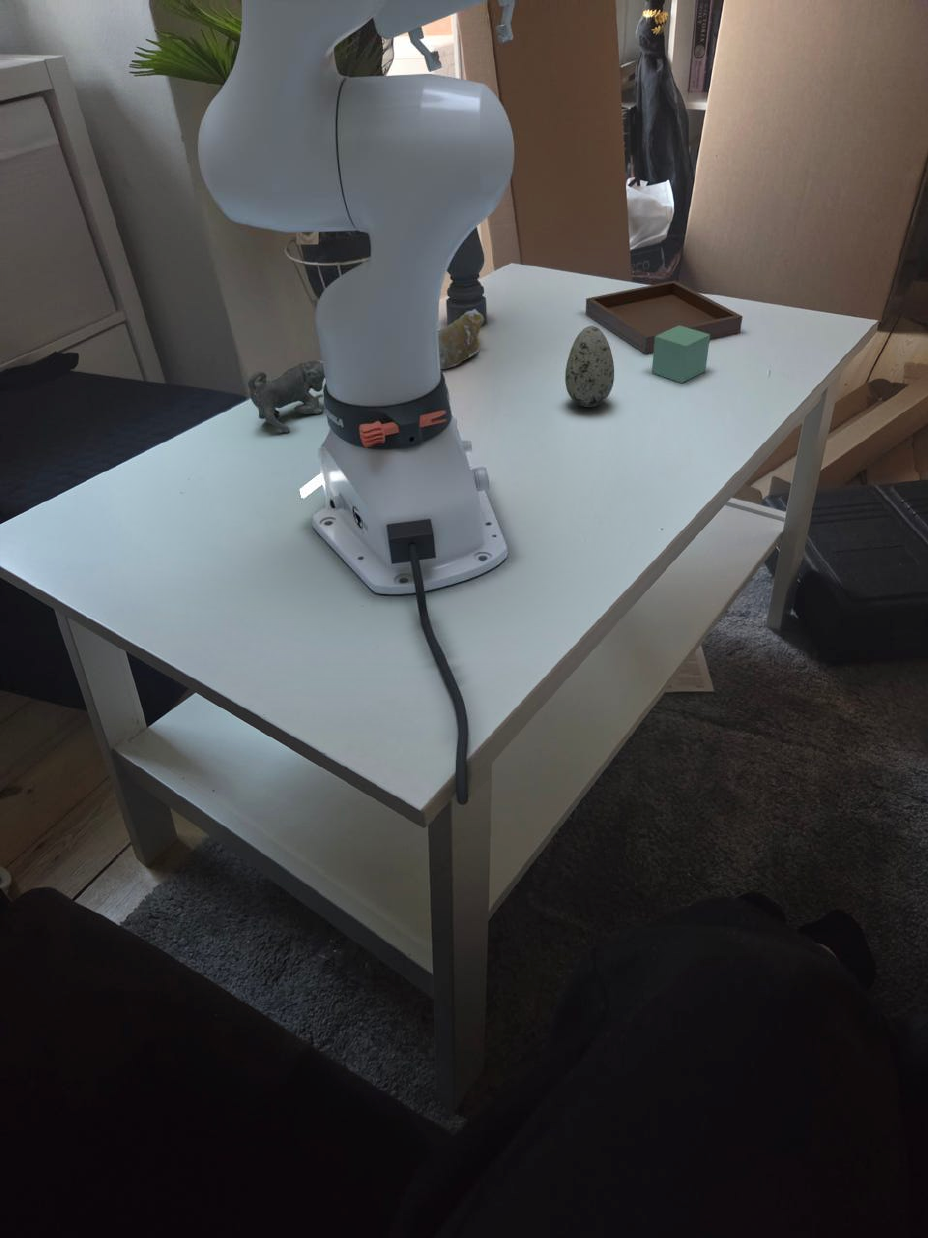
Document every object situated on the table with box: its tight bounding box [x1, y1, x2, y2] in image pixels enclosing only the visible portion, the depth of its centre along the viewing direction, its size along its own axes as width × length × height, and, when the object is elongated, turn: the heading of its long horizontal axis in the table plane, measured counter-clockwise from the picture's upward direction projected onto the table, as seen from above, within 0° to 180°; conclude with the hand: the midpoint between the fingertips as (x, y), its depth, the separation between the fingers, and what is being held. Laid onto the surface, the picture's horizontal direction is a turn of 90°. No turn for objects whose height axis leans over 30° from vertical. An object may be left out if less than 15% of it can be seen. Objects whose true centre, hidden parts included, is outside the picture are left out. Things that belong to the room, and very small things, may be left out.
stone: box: [438, 309, 484, 370], centre depth 118 cm, size 7×6×15 cm
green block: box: [651, 325, 711, 384], centre depth 110 cm, size 5×5×5 cm
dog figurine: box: [247, 360, 325, 434], centre depth 106 cm, size 12×6×7 cm, turn 138°
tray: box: [585, 280, 743, 355], centre depth 124 cm, size 18×16×2 cm
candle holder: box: [445, 226, 488, 327], centre depth 122 cm, size 6×6×25 cm
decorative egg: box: [564, 325, 615, 408], centre depth 103 cm, size 6×6×10 cm
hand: (470, 55), depth 103 cm, fingers open, 8 cm apart
